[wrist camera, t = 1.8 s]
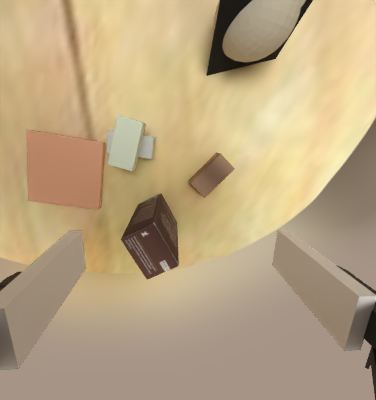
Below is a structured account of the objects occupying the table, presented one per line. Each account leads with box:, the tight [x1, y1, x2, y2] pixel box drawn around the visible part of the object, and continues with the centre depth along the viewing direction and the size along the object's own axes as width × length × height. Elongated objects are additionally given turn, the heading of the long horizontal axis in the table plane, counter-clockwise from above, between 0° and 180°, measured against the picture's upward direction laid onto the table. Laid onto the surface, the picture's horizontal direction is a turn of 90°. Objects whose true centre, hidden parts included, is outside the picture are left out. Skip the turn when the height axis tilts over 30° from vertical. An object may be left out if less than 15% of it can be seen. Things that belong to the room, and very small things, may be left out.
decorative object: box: [207, 0, 313, 75], centre depth 23 cm, size 13×10×10 cm
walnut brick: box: [189, 153, 234, 197], centre depth 32 cm, size 6×3×3 cm, turn 135°
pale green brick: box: [108, 115, 146, 171], centre depth 27 cm, size 6×3×3 cm, turn 164°
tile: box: [27, 130, 105, 210], centre depth 31 cm, size 10×10×1 cm
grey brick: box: [107, 130, 155, 159], centre depth 30 cm, size 6×3×3 cm, turn 82°
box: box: [121, 194, 179, 279], centre depth 29 cm, size 6×4×12 cm
